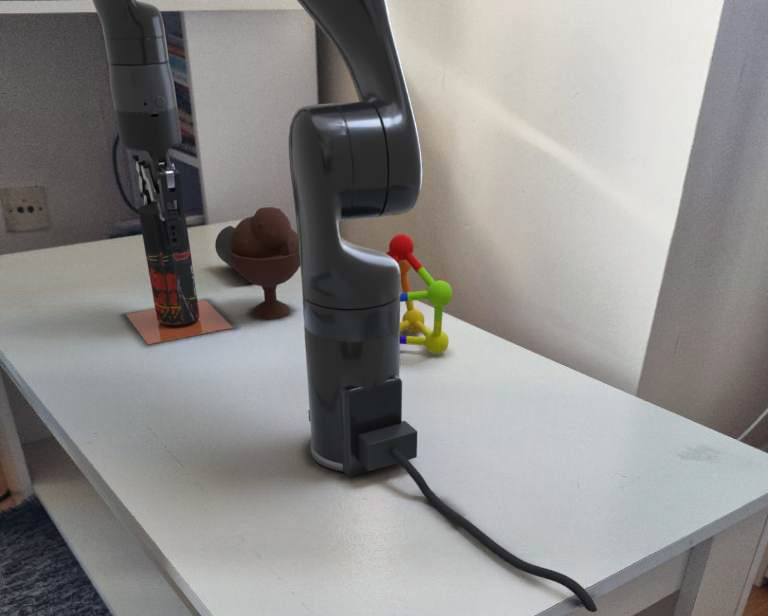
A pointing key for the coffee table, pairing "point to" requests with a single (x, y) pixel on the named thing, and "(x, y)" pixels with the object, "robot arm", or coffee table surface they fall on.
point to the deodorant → (169, 270)
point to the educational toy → (420, 298)
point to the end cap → (224, 243)
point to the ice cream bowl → (265, 256)
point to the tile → (161, 332)
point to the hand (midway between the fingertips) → (167, 242)
